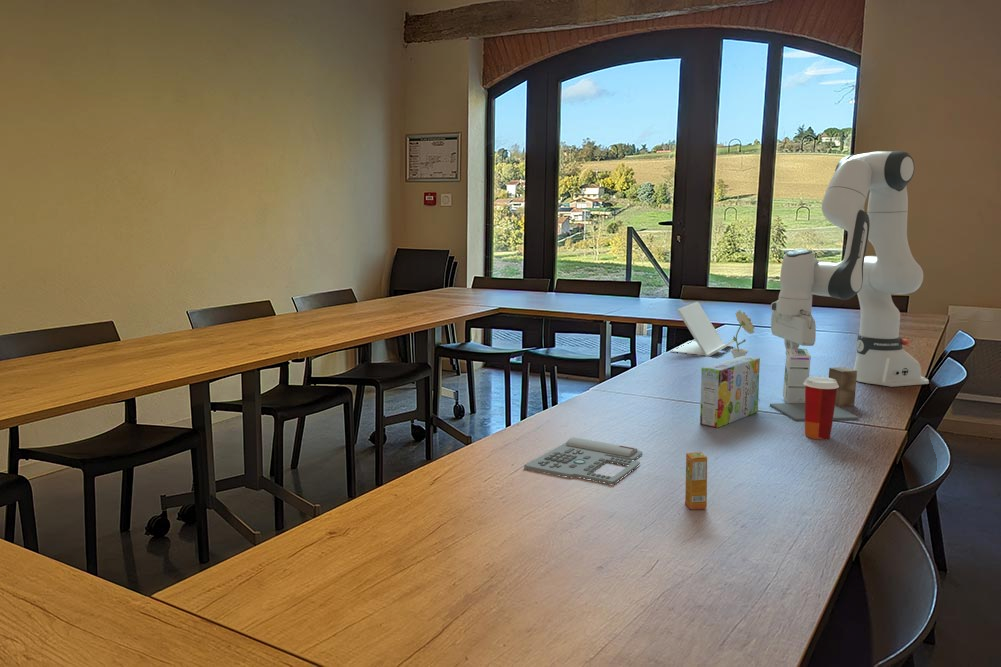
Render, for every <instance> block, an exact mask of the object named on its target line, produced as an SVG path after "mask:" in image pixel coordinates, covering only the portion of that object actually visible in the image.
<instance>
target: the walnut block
mask: <svg viewBox="0 0 1001 667" xmlns="http://www.w3.org/2000/svg"><path fill="white" fill-rule="evenodd" d="M828 370H829V371H828V378H832V379H835V380H836V381H837V383H838V385H839V388H837V394H836V401H835V406H837V407H839V408H846V407H855V400H856V390H857V381H856V379H857V370H853V368H850V367H846V366H838V367H829V369H828Z"/></svg>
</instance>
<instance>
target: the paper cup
mask: <svg viewBox="0 0 1001 667" xmlns="http://www.w3.org/2000/svg"><path fill="white" fill-rule="evenodd" d="M805 381H806V382H804V383H803V384H804V385H805V421H804V435H806V436H807V437H806V436H805V437H806V438H808V437H810V438H809V439H811V438H813V439H812V440H816V439H827V440H829V439H831V435H832V427H833V421H834V420H833V415H834V408H835V401H836V394H837V388H839V385H838V383H837V381H836V380H835V379H832V378H829V377H826V376H809V377H808V378H807V380H805Z"/></svg>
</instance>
